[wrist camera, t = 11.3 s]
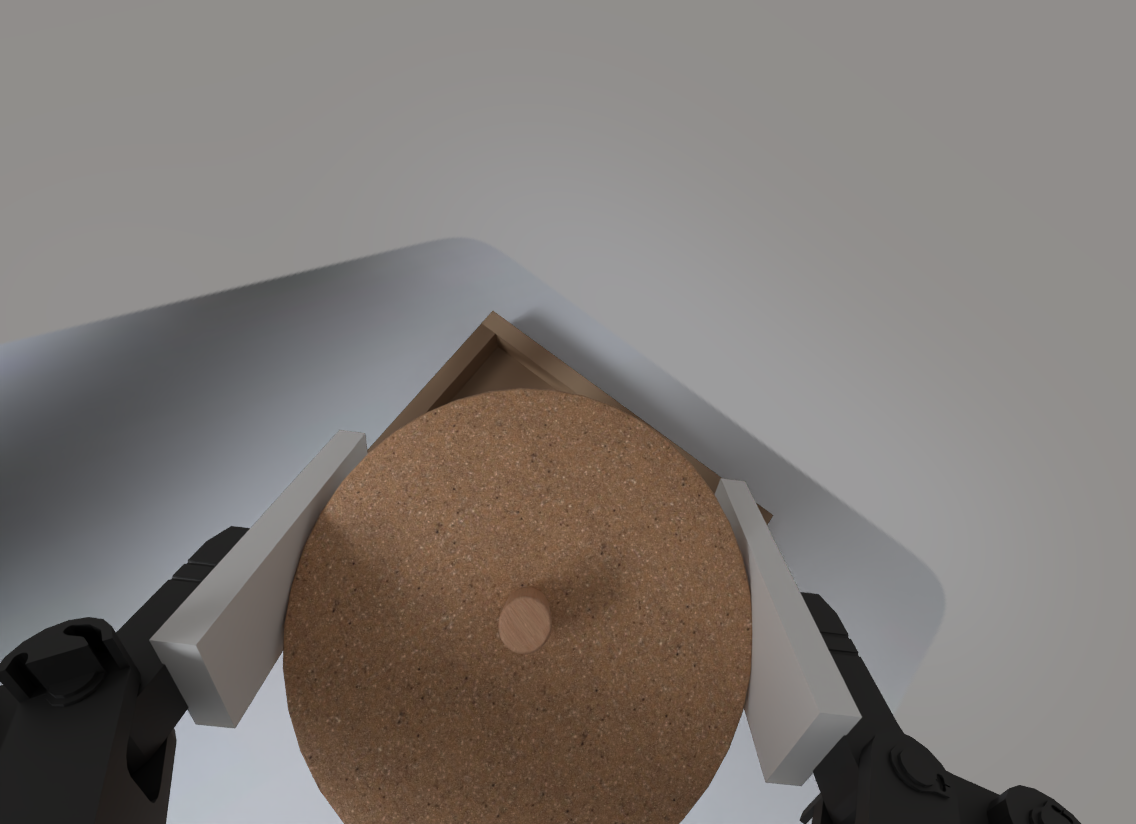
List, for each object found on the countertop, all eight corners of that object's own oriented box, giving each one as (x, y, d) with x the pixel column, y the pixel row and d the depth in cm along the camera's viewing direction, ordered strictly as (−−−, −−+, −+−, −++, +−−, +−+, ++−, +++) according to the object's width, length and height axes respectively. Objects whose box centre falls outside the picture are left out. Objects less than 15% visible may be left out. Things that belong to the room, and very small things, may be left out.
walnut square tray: (264, 592, 23) (233, 599, 21) (496, 329, 28) (492, 310, 25) (555, 841, 21) (558, 881, 19) (750, 516, 26) (772, 515, 24)
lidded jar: (552, 394, 20) (565, 276, 11) (719, 596, 18) (907, 662, 9) (336, 557, 17) (116, 584, 8) (503, 806, 16) (458, 1189, 6)
